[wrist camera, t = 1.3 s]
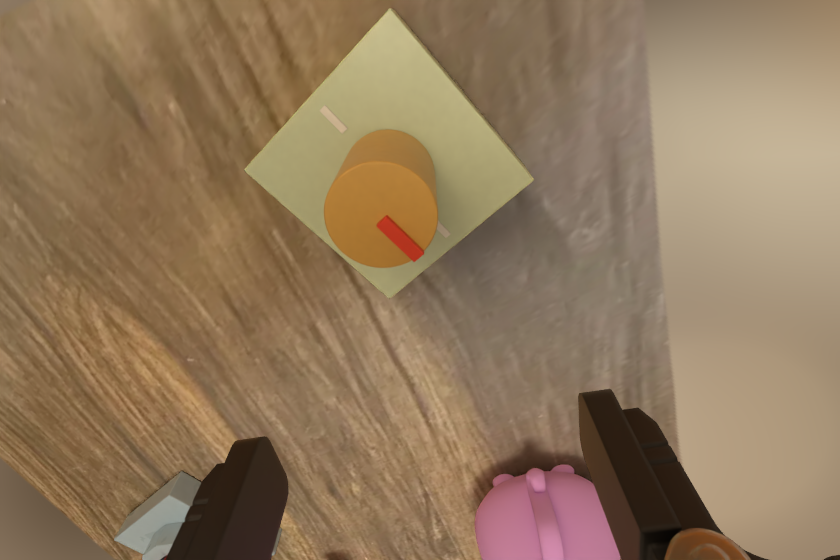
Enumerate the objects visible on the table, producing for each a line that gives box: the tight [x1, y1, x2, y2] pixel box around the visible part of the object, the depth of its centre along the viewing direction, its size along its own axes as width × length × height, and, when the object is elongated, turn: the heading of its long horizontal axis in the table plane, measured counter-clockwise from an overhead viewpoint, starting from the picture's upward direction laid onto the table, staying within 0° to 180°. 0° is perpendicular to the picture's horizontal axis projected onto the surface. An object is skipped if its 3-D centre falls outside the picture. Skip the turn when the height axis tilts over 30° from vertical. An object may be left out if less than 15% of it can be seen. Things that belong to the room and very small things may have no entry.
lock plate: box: [244, 8, 534, 299], centre depth 24 cm, size 10×10×3 cm
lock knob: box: [324, 129, 438, 268], centre depth 21 cm, size 4×4×6 cm
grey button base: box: [114, 471, 282, 560], centre depth 38 cm, size 10×8×4 cm
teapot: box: [475, 465, 620, 560], centre depth 35 cm, size 10×15×9 cm
